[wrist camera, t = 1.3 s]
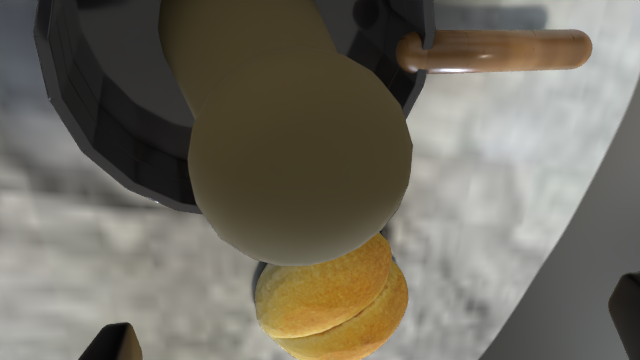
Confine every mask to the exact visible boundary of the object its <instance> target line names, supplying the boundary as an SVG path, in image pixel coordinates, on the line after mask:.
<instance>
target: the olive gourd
mask: <svg viewBox="0 0 640 360" xmlns="http://www.w3.org/2000/svg"><path fill="white" fill-rule="evenodd" d="M158 33H159V38H160V42H161V46H162V51H163V55H164V57H165V59H166V61H167V63H168V65H169V67H170V69H171V71H172V73H173V75H174V77H175V79H176V82H177V84H178V86H179V88H180V90H181V92H182V94H183V96H184V98H185V100H186V102H187V104H188V106H189V108H190V110H191V112H192V114H193V116H194V118H195V122H194V124H193V127H192V133H191V139H190V146H189V152H188V169H189V176H190V180H191V184H192V188H193V193H194V197H195V201H196V204H197V205H198V207H199V209H200V210H201V212H202V213H203V215H204V217H205V218H206V219H207V221H208V222H209V223H210V225H211V226H212V228H213V229H214V230H215V232H216V233H217V235H218V236H219V237H220V238H221V239H222V240H224V241H225V242H227V243H228V244H230V245H231V246H233V247H234V248H236V249H237V250H239V251H240V252H242V253H243V254H245V255H247V256H249V257H251V258H253V259H255V260H259V261H263V262H266V263H270V264H273V265H277V266H309V265H314V264H318V263H322V262H326V261H331V260H334V259H336V258H338V257H341V256H343V255H345V254H347V253H349V252H351V251H353V250H355V249H357V248H359V247H361V246H362V245H363V244H364V243H366V242H367V241H368V240H369V239H371V238H372V237H373V236H374V235H376V234H377V233H378V232H380V231H381V230H382V229H383V227H384V226H385V225H386V223H387V222H388V221H389V220H390V218H391V217H392V216H393V215H394V213H395V212H396V211H397V210H398V208H399V205H400V203H401V201H402V198H403V196H404V194H405V191H406V189H407V186H408V183H409V178H410V173H411V161H412V149H413V144H412V141H411V138H410V134H409V131H408V127H407V124H406V120H405V117H404V114H403V111H402V108H401V105H400V104H399V102H398V101H397V100H396V99H395V97H394V96H393V95H392V94H391V92H390V91H389V90H388V89H387V87H386V86H385V85H384V84H383V82H382V81H381V80H380V79H379V78H378V77H377V76H376V75H375V74H374V73H373V72H372V71H371V70H369V69H367V68H366V67H364V66H362V65H360V64H359V63H357V62H355V61H353V60H352V59H350V58H348V57H346V56H345V55H342V54H339V53H338V52H337V50H336V47H335V45H334V43H333V41H332V38H331V36H330V34H329V32H328V30H327V27H326V25H325V23H324V21H323V19H322V16H321V14H320V12H319V10H318V7H317V5H316V3H315V1H314V0H162V1H161V4H160V13H159V22H158Z"/></svg>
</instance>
